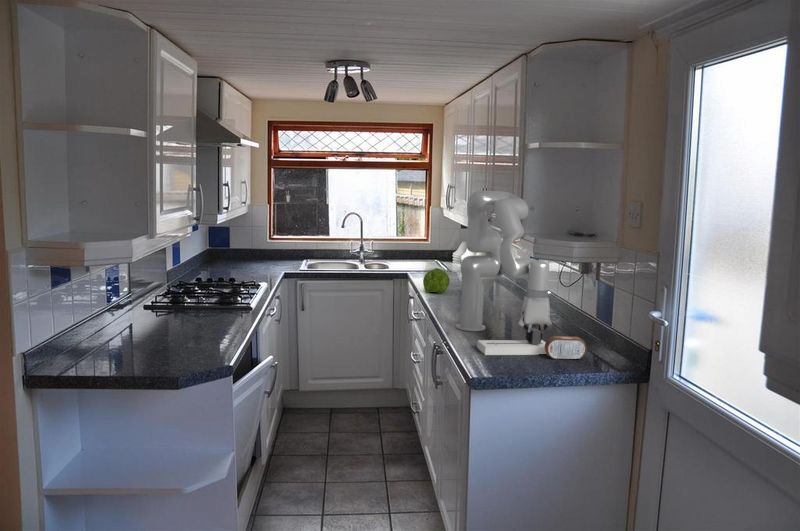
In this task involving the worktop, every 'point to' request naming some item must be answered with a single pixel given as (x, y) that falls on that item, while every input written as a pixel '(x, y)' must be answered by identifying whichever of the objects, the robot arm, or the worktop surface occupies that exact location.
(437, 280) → the lettuce
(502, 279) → the worktop surface
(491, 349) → the console
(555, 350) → the tin
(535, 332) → the fader tab
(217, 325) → the worktop surface
